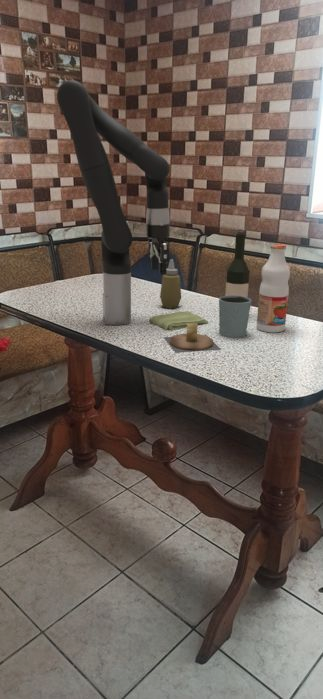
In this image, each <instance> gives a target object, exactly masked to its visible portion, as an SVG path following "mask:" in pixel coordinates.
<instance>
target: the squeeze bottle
mask: <svg viewBox="0 0 323 699" xmlns="http://www.w3.org/2000/svg"><path fill="white" fill-rule="evenodd" d="M166 271H167V273H166V274H165V275H162V278H161V285H160V292H159V293H160V294H159V297H160V298H159V299H160V302H161V305H162V307H163V308H165V309H176V308H178V307H179V305H180V303H181V299H182V290H181V276H180V275H179V274H178V268H175V262H174V259H173V258H171V259H170V258H169V262H168V266H167V267H166Z"/></svg>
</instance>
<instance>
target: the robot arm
mask: <svg viewBox="0 0 323 699" xmlns="http://www.w3.org/2000/svg"><path fill="white" fill-rule="evenodd" d="M56 101H57V105H58V106H59V110H61V112H62V115H63V117H64V119H65V122H66V125H67V127H68V129H69V131H70V135H71V138H72V142H73V146H74V151H75V155H76V160H77V163H78V167H79V171H80V173H81V177H82V179H83V184H84V186H85V188H86V190H87V192H88V195H89V197H90V199H91V201H92V203H93V205H94V207H95V209H96V211H97V213H98V216H99V220H100V223H101V229H102V231H101V261H102V262H101V263H102V277H103V278H102V281H103V282H102V283H103V289H102V290H103V292H102V321H103V323H104V324H105V325H110V326H111V325H113V326H123V325H128V324H130V323H131V322H132V265H131V257H130V248H131V246H132V243H133V233H132V231H131V229H130V226H129V224H128V222H127V220H126V216H125V215H124V212H123V210H122V207H121V202H120V198H119V194H118V189H117V185H116V181H115V177H114V174H113V171H112V167H111V163H110V160H109V158H108V154H107V152H106V150H105V148H104V145H103V143H102V141H101V138H100V137H102V138H103V139H104V140H105V141H106V142H107V143H108V144H109V145H110V146H111V147H112V148H114V149H115V150H116V151H117V152H118V153H119V154H120V155H121V156H123V157H124V158H125V159H126V160H127V161H130V162H131V163H133V164H134V165H136V166H137V167H138V168H139V169H140V170H141V171H143V173H144V174H145V175H144V176H145V186H146V214H145V215H146V216H145V217H146V225H145V226H146V237H147V238H148V242H147V243H148V250H147V251H148V256H149V258H150V267H151V268H150V269H152V270H159V272H158V273H159V275H161V276H163V275H165V274H166V273H167V271H166V269H167V263H169V262H170V244H169V243H168V242H166V241H165V239H166V238H167V239H168V238H169V237H170V235H171V234H170V232H171V228H170V219H171V218H170V209H169V208H170V206H169V200H170V199H169V191H168V189H167V186H168V184H167V180H168V179H167V177H168V175H169V174H170V164H169V163H168V161H167V160H166V159H165V158H164V157H163V156H162V155H160V154H159V153H158V152H156V150H154V149H152V148H151V147H150V146H148V145H147V144H146V143H145V142H144V141H143V140H142V139H141V138H140V137H139V136H138V135H136V134H135V133H134V132H132V131H131V130H130V129H128V127H126V126H125V125H123V124H122V123H121V122H119V121H118V120H117V119H115V118H114V117H112V116H111V115H110V114H108V113H107V112H106V111H105V110H104V109H102V107H101V106H100V105H98V103H97V102H96V101H95V100H94V99H93V98H92V96H91V95H90V94H89V92H88V90H87V88H86V87H85V86H84V84H82V83H81V82H79V81H77V80H74V79H69V80H66V81H64V82H63V83H61V84H60V86H59V87H58V89H57V93H56Z"/></svg>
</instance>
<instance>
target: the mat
mask: <svg viewBox="0 0 323 699" xmlns="http://www.w3.org/2000/svg"><path fill="white" fill-rule="evenodd" d="M204 335H205V336H208V335H207V334H204ZM171 337H172V336H165V337H164V336H163V339H164V340H165V342H166V343H167V344H168V345H169V347H170V348H171V349H172V351H173V352H174V353H175V354H176V353H177V354H178V353H193V352H195V353H196V352H206V351H209V352H210V351H221V350H222V348H220V346H219V345H217V344H216V343H215V342H214V341H213V346H212V347H211V348H208V349H205V350H196V351H192V350H182V349H178V348H175V347H173V346H172V345H171V344H170V338H171Z"/></svg>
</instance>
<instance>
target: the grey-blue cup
mask: <svg viewBox="0 0 323 699" xmlns="http://www.w3.org/2000/svg"><path fill="white" fill-rule="evenodd" d="M251 306H252V299H251V298H250V297H248V298H247V297H243V296H225V295H222V296H220V297H219V298H218V308H219V309H218V310H219V312H218V317H219V318H218V320H219V321H218V326H219V328H218V330H219V331H218V333H219V335H220V336H222V337H225V338H231V339H239V338H243V337H246V335H247V331H248V330H247V328H248V324H249V318H250V317H249V316H250V310H251Z"/></svg>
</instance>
